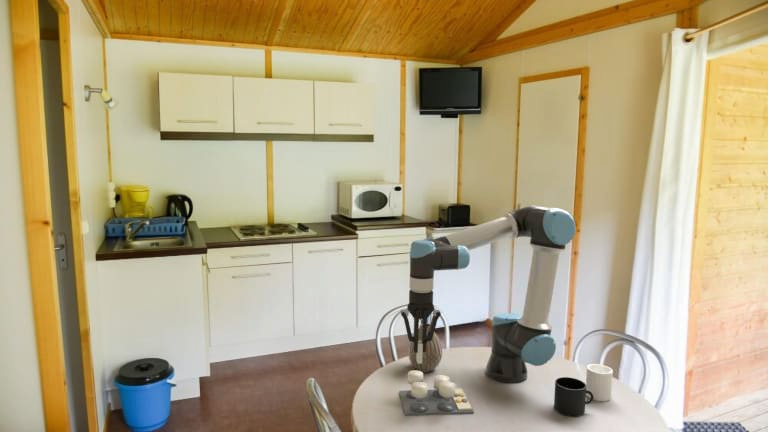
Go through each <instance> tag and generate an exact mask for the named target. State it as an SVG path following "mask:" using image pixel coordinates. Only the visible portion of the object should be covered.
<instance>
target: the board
mask: <svg viewBox="0 0 768 432" xmlns="http://www.w3.org/2000/svg"><path fill="white" fill-rule="evenodd" d="M399 396H400V400H401V403H402V404H401V405H402V408H403V412H404V413H403V414H404V416H409V417H410V416H427V415H428V416H433V415H434V416H435V415H436V416H437V415H439V416H440V415H463V414H464V415H465V414H474V410H473V408H472V405H471V404H470V402H469V400H468V397H467V396H466V394H465V392H464V390H463V388H455V395H454V396H453V397H451V400H450V401H444V400H443V396H441V395H440V394H439V393H438V390H437V389H428V395H427V397H425V398H423V401H422V402H417V401H416V398H415V397H413V396H412V395H411V390H410V389H409V390H399Z"/></svg>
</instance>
